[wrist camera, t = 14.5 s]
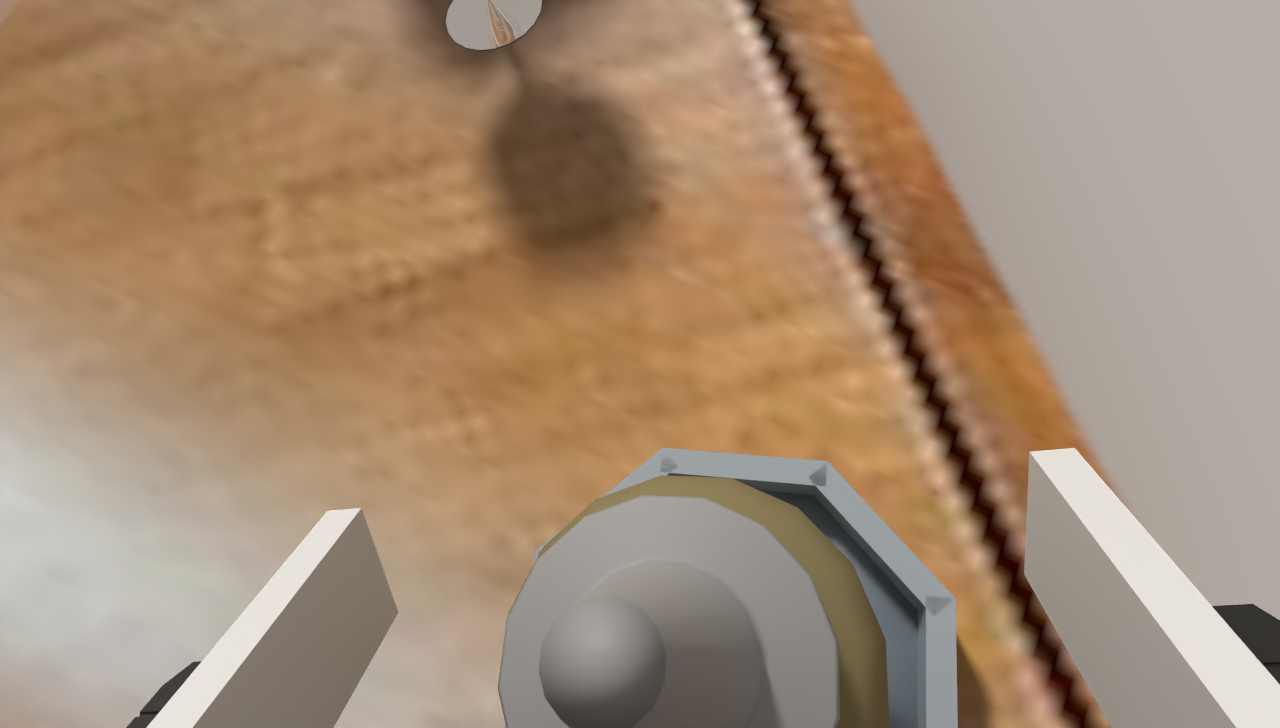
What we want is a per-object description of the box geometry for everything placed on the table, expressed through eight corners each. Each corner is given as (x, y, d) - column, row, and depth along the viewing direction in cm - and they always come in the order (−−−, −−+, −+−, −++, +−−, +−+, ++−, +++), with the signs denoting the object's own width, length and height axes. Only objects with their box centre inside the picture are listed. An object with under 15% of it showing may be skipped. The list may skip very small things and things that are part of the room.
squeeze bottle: (921, 642, 22) (1298, 569, 6) (765, 888, 21) (698, 1706, 4) (703, 486, 25) (554, 148, 9) (552, 691, 24) (31, 739, 7)
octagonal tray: (703, 1007, 21) (693, 1048, 19) (473, 629, 26) (442, 625, 24) (1034, 708, 22) (1062, 713, 20) (752, 402, 27) (749, 377, 25)
